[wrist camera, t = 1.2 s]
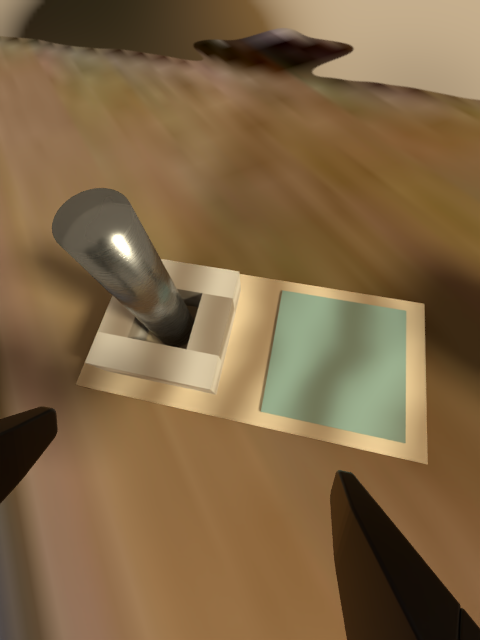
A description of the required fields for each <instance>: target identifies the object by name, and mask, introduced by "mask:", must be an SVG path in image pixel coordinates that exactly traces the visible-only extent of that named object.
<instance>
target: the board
mask: <svg viewBox="0 0 480 640" xmlns="http://www.w3.org/2000/svg"><path fill="white" fill-rule="evenodd" d="M161 261H162V262H163V264H164V266H165V268H166V270H167V272H168V273H169V275H170V277H171V279H172V281H173V282H174V284H175V286H176V288H177V290H178V292H179V293H180V295H181V297H182V299H183V301H184V302H185V304H186V306H187V308H188V310H189V312H190V313H191V315H192V317H193V319H194V325H193V328H192V332H191V335H190V339H189V342H188V343H187V344H185V345H183V346H180V347H172V346H167V345H165V344H163V343H162V342H161V341H160V340H159V339H158V338H157V337H156V336H155V335H154V334H153V333H152V332H151V331H150V330H149V329H148V328H146V327H145V326H144V325H143V324H142V323H141V322H140V321H139V320H138V319H137V318H136V317H135V316H134V315H133V314H132V313H131V312H130V311H129V310H128V309H126V308H125V307H124V306H123V305H122V304H121V303H120V302H119V301H118V300H117V299H116V298H115V297H114V296H113V295H112V297H111V300H110V302H109V305H108V307H107V309H106V312H105V314H104V317H103V319H102V322H101V324H100V326H99V329H98V331H97V334H96V336H95V339H94V341H93V343H92V346H91V348H90V351H89V353H88V355H87V358H86V360H85V363H84V365H83V368H82V370H81V372H80V375H79V377H78V380H77V382H76V385H78V386H82V387H87V388H91V389H96V390H100V391H105V392H109V393H113V394H118V395H122V396H127V397H131V398H135V399H140V400H144V401H149V402H153V403H158V404H162V405H166V406H171V407H175V408H180V409H184V410H189V411H193V412H197V413H202V414H206V415H211V416H215V417H220V418H224V419H228V420H233V421H237V422H242V423H246V424H251V425H255V426H259V427H264V428H268V429H273V430H277V431H281V432H286V433H290V434H295V435H299V436H304V437H308V438H312V439H317V440H321V441H326V442H330V443H335V444H339V445H343V446H348V447H352V448H357V449H361V450H366V451H370V452H374V453H379V454H383V455H388V456H392V457H396V458H401V459H405V460H410V461H414V462H419V463H424V464H427V412H426V360H425V309H424V304H422V303H416V302H410V301H404V300H398V299H391V298H385V297H379V296H373V295H367V294H360V293H354V292H348V291H342V290H336V289H329V288H323V287H317V286H311V285H305V284H298V283H292V282H286V281H280V280H274V279H267V278H261V277H255V276H249V275H243V274H239V271H232V270H226V269H220V268H214V267H207V266H201V265H195V264H189V263H182V262H176V261H170V260H164V259H161Z"/></svg>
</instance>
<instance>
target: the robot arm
mask: <svg viewBox="0 0 480 640" xmlns="http://www.w3.org/2000/svg"><path fill="white" fill-rule="evenodd" d="M56 434H57V416H56V411H55V409H53V408H48V407H38V408H35V409H32V410H28V411H25V412H22V413H19V414H16V415H12V416H9V417H6V418H3V419H0V503H1V502H2V501H3V500H4V499H5V498H6V497H7V496H8V495H9V494H10V492H11V491H12V490H13V489H14V488H15V487H16V486H17V485H18V484H19V482H20V481H21V480H22V479H23V478H24V476H25V475H26V474H27V473H28V471H29V470H30V469H31V467H32V466H33V465H34V464H35V462H36V461H37V460H38V458H39V457H40V456H41V455H42V453H43V452H44V451H45V449H46V448H47V447H48V446H49V444H50V443H51V442H52V441H53V439H54V438H55V436H56ZM330 504H331V519H332V535H333V550H334V562H335V569H336V575H337V581H338V587H339V593H340V600H341V606H342V612H343V618H344V624H345V630H346V636H347V640H480V628H479V627H478V626H477V624H476V623H475V622H474V621H473V620H472V618H471V617H470V616H469V615H468V613H467V612H466V611H465V610H464V609H463V608H461V609H460V604H459V603H458V601H457V600H456V599H455V598H454V597H453V595H452V594H451V593H450V592H449V590H448V589H447V588H446V587H445V586H444V584H443V583H442V582H441V581H440V579H439V578H438V577H437V576H436V575H435V573H434V572H433V571H432V570H431V568H430V567H429V566H428V565H427V564H426V562H425V561H424V560H423V559H422V557H421V556H420V555H419V554H418V553H417V551H416V550H415V549H414V548H413V546H412V545H411V544H410V543H409V541H408V540H407V539H406V538H405V537H404V535H403V534H402V533H401V532H400V530H399V529H398V528H397V527H396V526H395V524H394V523H393V522H392V521H391V519H390V518H389V517H388V516H387V515H386V513H385V512H384V511H383V510H382V508H381V507H380V506H379V505H378V504H377V502H376V501H375V500H374V499H373V497H372V496H371V495H370V494H369V493H368V491H367V490H366V489H365V488H364V486H363V485H362V484H361V483H360V482H359V480H358V479H357V478H356V477H355V475H354V474H352V473H351V472H346V471H342V470H338V471H337V472H336V475H335V478H334V482H333V486H332V489H331V494H330Z"/></svg>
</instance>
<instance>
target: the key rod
mask: <svg viewBox="0 0 480 640" xmlns="http://www.w3.org/2000/svg"><path fill="white" fill-rule="evenodd" d="M52 233H53V236H54V238H55V240H56V241H57V243H58V244H59V245H60V246H61V247H62V248H63V249H64V250H65V251H67V252H68V253H69V254H70V255H71V256H72V257H73V258H74V259H75V260H76V261H77V262H78V263H79V264H80V265H81V266H82V267H83V268H84V269H85V270H87V271H88V272H89V273H90V274H91V275H92V276H93V277H94V278H95V279H96V280H97V281H98V282H99V283H100V284H101V285H102V286H103V287H104V288H105V289H107V290H108V291H109V292H110V293H111V294H112V295H113V296H114V297H115V298H116V299H117V300H118V301H119V302H120V303H121V304H122V305H123V306H124V307H125V308H126V309H128V310H129V311H130V312H131V313H132V314H133V315H134V316H135V317H136V318H137V319H138V320H139V321H140V322H141V323H142V324H143V325H144V326H145V327H146V328H148V329H149V330H150V331H151V332H152V333H153V334H154V335H155V336H156V337H157V338H158V339H159V340H160V341H161V342H162V343H163V344H165V345H167V346H172V347H180V346H183V345H185V344H187V343H188V342H189V339H190V335H191V332H192V328H193V325H194V319H193V317H192V315H191V313H190V312H189V310H188V308H187V306H186V304H185V302H184V301H183V299H182V297H181V295H180V293H179V292H178V290H177V288H176V286H175V284H174V282H173V281H172V279H171V277H170V275H169V273H168V272H167V270H166V268H165V266H164V264H163V262H162V261H161V259H160V257H159V255H158V253H157V252H156V250H155V248H154V246H153V244H152V242H151V241H150V239H149V237H148V235H147V233H146V232H145V230H144V228H143V226H142V224H141V222H140V221H139V219H138V217H137V215H136V213H135V211H134V210H133V208H132V206H131V204H130V202H129V201H128V199H127V198H126V197H125V196H124V195H123V194H121V193H119V192H118V191H115V190H112V189H106V188H96V189H90V190H86V191H83V192H81V193H79V194H77V195H75V196H73V197H71V198H70V199H69V200H67V201H66V202H65V203H64V204H63V205H62V206H61V207H60V208H59V210H58V211H57V213H56V215H55V217H54V219H53V223H52Z"/></svg>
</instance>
